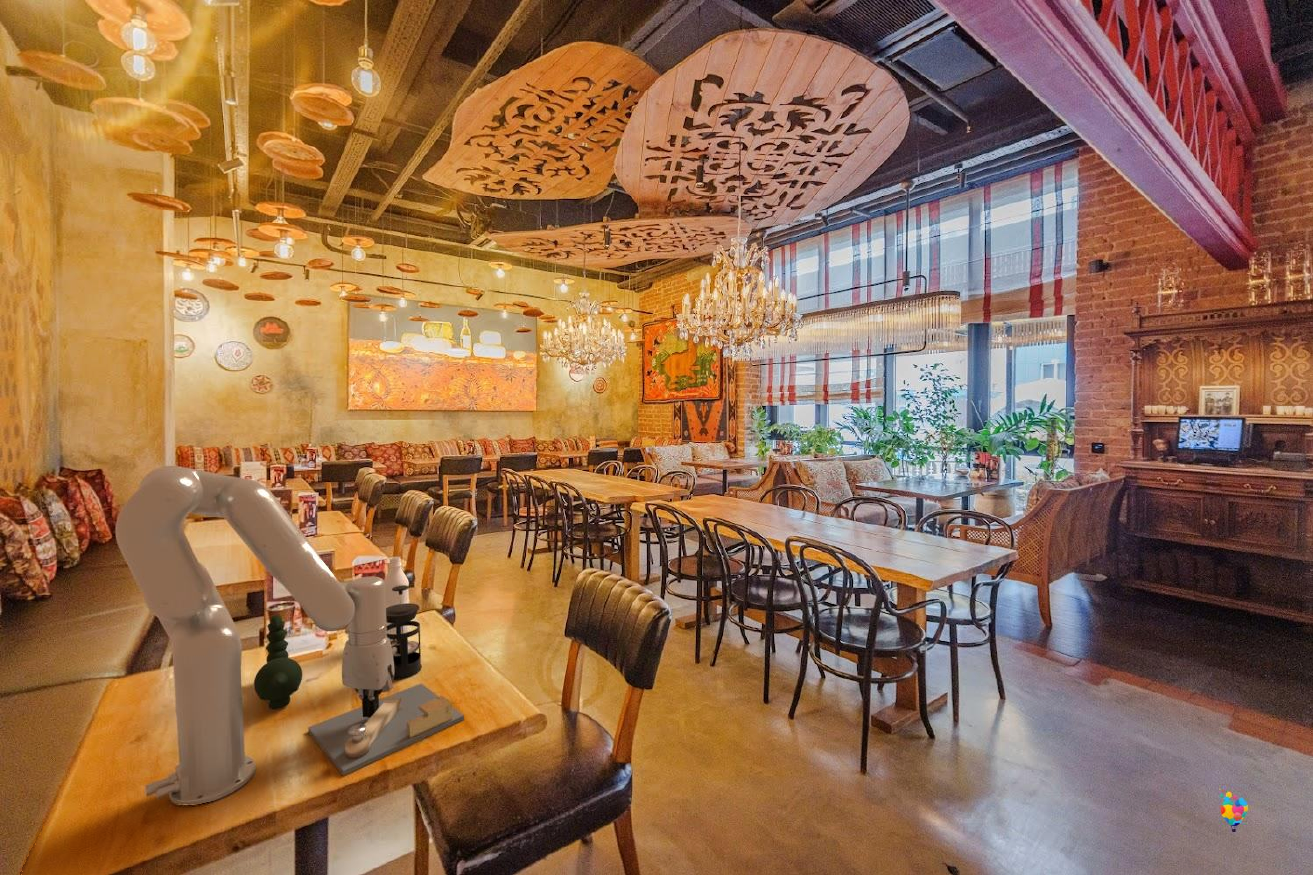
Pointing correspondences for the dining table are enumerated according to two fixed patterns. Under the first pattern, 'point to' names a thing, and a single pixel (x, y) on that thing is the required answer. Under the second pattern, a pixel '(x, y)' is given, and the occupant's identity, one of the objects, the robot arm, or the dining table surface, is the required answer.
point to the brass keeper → (430, 716)
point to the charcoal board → (390, 738)
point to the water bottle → (393, 597)
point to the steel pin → (357, 732)
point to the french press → (404, 637)
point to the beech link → (373, 728)
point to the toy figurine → (277, 669)
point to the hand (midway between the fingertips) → (371, 713)
